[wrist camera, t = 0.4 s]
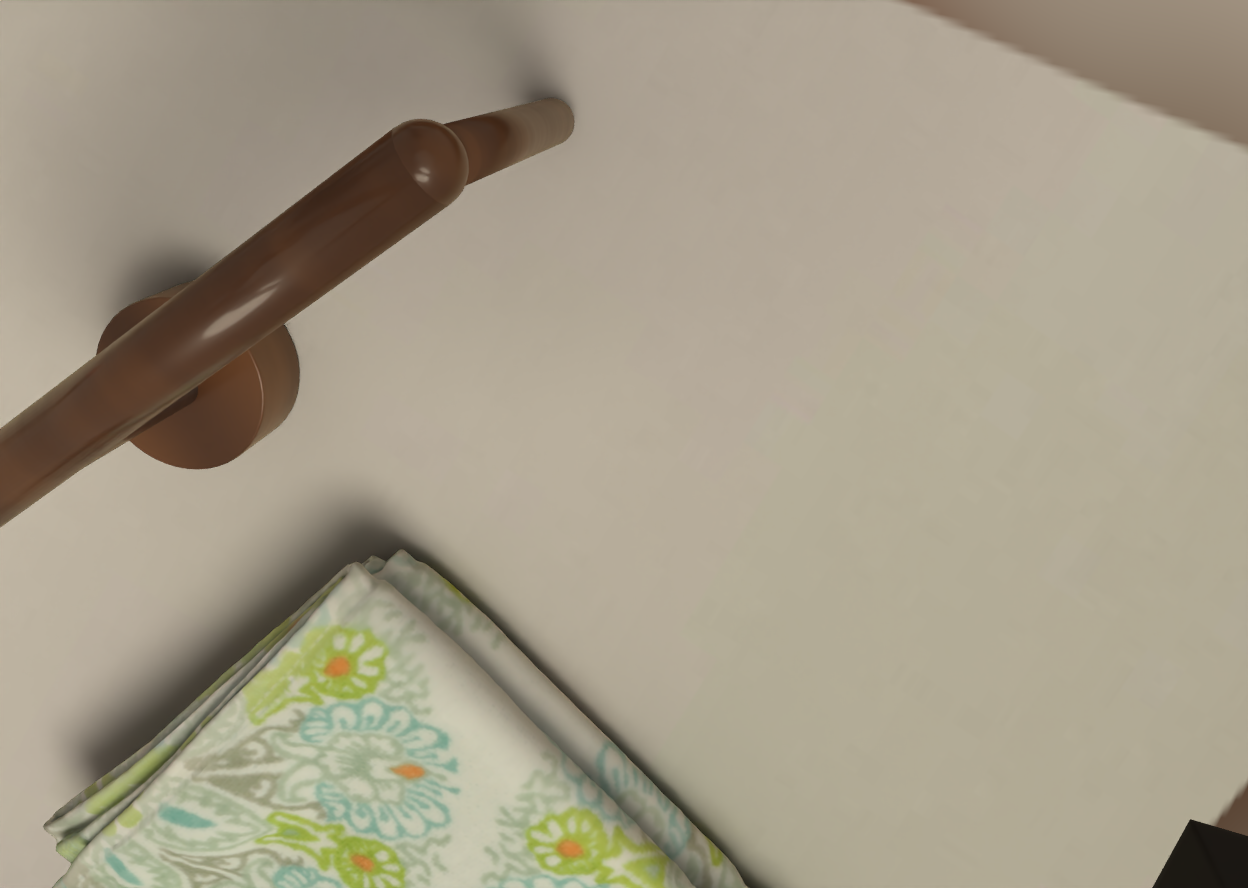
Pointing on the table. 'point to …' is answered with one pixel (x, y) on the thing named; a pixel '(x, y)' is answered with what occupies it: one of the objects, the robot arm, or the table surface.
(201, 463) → the bent wooden rod
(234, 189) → the table surface
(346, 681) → the towel
